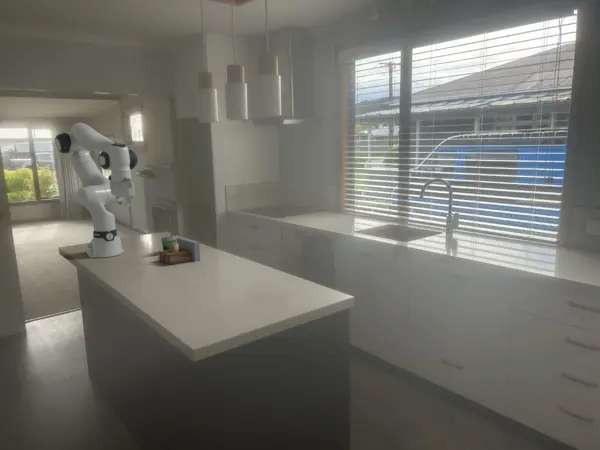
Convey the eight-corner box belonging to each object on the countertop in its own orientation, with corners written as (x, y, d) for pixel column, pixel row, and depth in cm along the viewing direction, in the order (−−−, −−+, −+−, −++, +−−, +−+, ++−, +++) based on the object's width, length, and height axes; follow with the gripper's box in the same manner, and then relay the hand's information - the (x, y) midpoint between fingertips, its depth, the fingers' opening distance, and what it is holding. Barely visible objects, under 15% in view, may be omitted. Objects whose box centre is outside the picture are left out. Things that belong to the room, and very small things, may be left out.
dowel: (170, 258, 229) (168, 243, 227) (177, 257, 231) (175, 242, 230) (174, 260, 226) (172, 244, 224) (181, 258, 229) (179, 243, 227)
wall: (177, 255, 239) (176, 237, 238) (182, 254, 241) (181, 237, 240) (195, 261, 227) (194, 242, 225) (200, 260, 229) (199, 241, 227)
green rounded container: (172, 255, 239) (171, 238, 238) (162, 255, 241) (161, 237, 239) (183, 250, 251) (181, 233, 250) (173, 250, 253) (171, 233, 251)
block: (159, 260, 229) (159, 251, 228) (180, 256, 237) (179, 247, 236) (171, 264, 221) (170, 255, 220) (192, 260, 229) (191, 251, 228)
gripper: (137, 178, 207) (139, 207, 210) (119, 175, 222) (121, 203, 224) (124, 179, 203) (126, 208, 206) (106, 176, 217) (109, 204, 220)
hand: (123, 205), depth 215 cm, fingers open, 8 cm apart
